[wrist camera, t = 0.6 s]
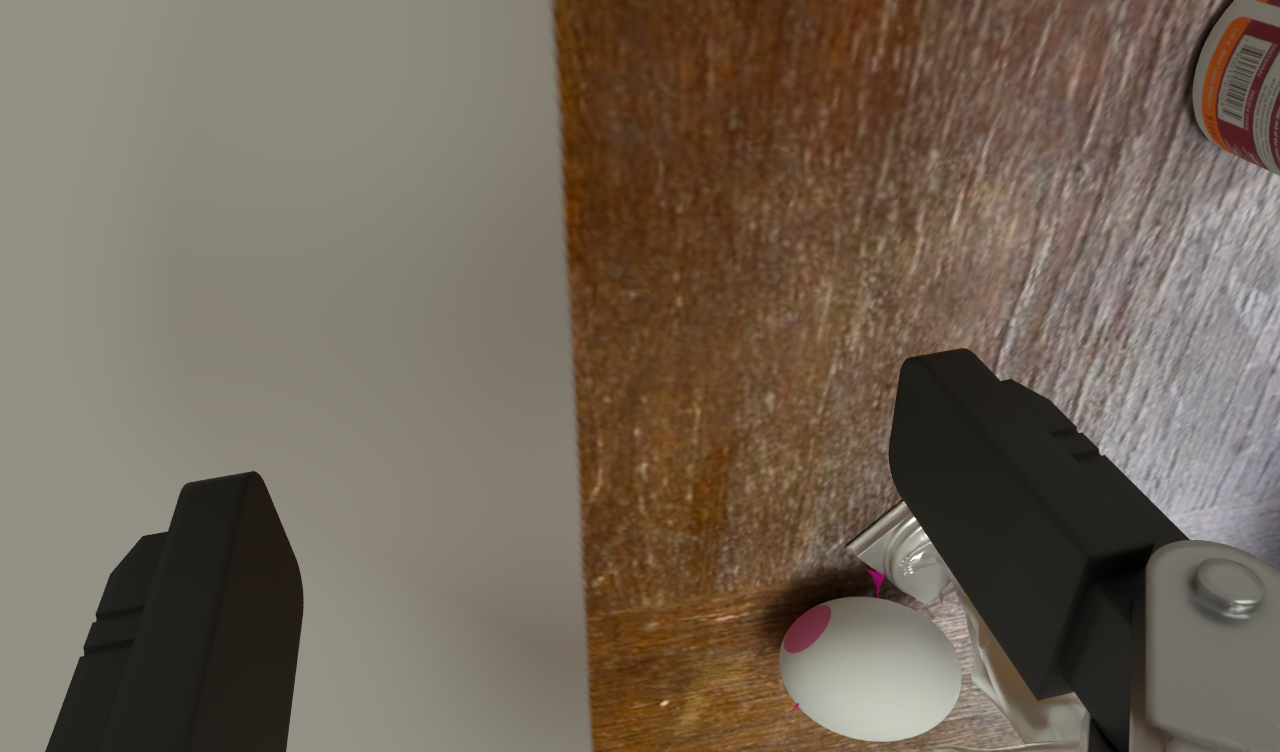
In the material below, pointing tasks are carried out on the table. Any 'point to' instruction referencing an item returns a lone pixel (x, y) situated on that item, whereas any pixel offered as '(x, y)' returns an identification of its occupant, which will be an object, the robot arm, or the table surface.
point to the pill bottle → (1242, 83)
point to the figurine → (925, 576)
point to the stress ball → (870, 668)
